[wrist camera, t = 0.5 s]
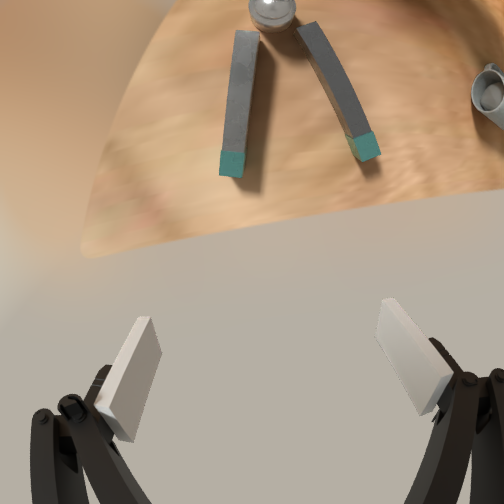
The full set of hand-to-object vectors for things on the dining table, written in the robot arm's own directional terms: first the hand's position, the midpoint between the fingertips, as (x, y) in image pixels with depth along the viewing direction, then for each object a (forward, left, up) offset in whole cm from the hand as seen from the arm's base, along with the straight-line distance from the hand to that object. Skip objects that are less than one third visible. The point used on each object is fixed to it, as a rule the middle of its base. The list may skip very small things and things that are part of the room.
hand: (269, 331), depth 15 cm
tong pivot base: (-11, -11, -25) cm, 29 cm away
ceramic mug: (-39, -1, -25) cm, 46 cm away
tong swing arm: (-5, -13, -25) cm, 28 cm away
